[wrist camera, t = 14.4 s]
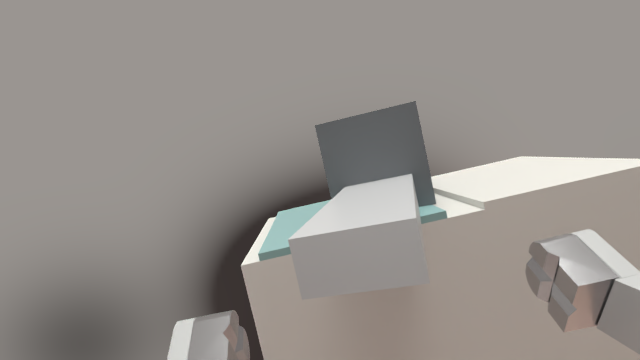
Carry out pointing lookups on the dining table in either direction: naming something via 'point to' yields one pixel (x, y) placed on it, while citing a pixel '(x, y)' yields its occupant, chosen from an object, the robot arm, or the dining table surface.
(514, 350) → the stand
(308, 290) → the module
